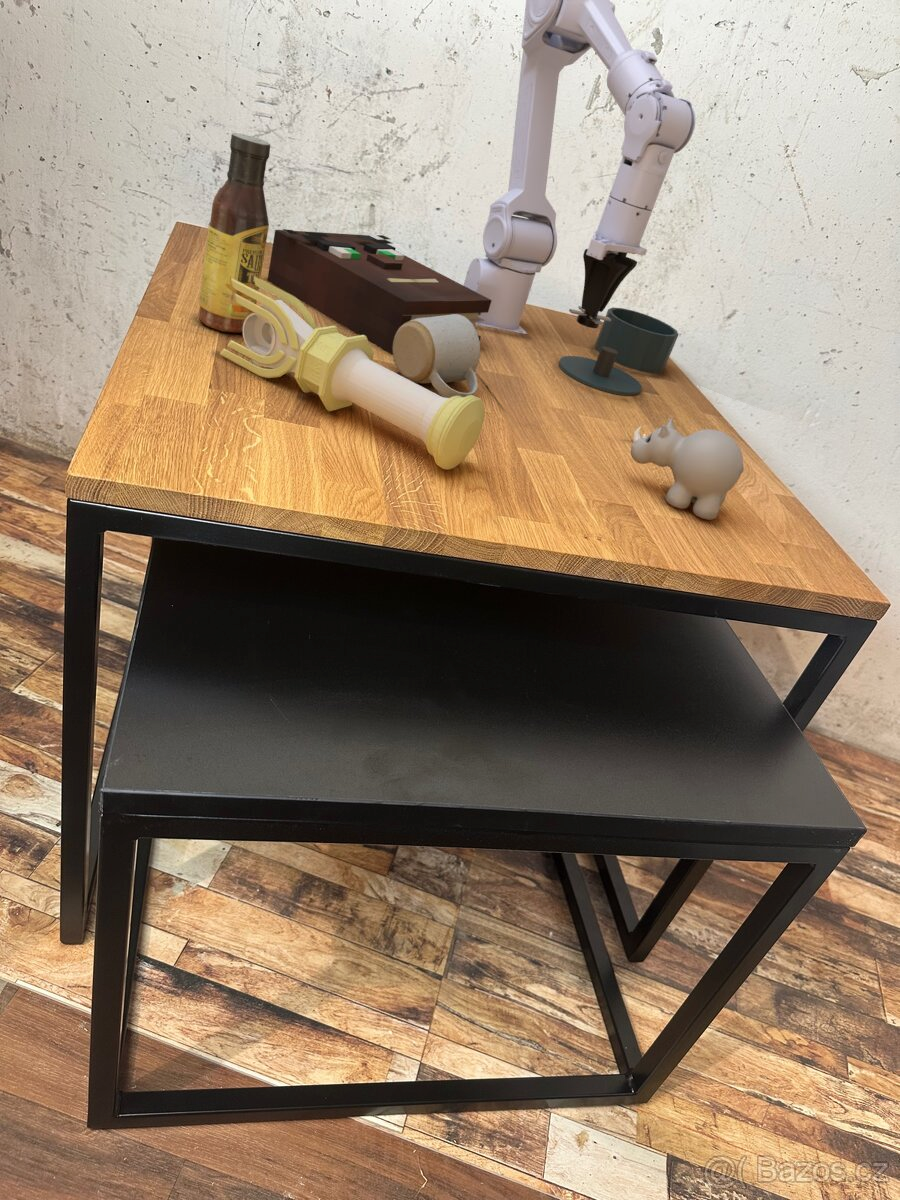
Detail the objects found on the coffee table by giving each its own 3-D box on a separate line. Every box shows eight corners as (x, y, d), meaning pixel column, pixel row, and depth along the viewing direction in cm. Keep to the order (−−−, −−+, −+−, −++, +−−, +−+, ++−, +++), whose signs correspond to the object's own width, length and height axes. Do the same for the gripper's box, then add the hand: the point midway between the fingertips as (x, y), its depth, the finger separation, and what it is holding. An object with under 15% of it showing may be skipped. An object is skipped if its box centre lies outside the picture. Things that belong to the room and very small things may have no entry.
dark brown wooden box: (414, 302, 102) (257, 216, 115) (399, 363, 106) (249, 273, 119) (512, 300, 116) (362, 224, 129) (495, 354, 120) (351, 275, 133)
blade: (575, 327, 113) (590, 285, 110) (559, 312, 117) (573, 271, 114) (615, 336, 115) (631, 295, 112) (597, 320, 120) (612, 280, 117)
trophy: (502, 392, 83) (267, 274, 92) (463, 406, 77) (216, 278, 86) (477, 467, 87) (254, 348, 96) (438, 486, 81) (205, 357, 91)
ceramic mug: (381, 367, 103) (397, 304, 98) (429, 364, 108) (446, 304, 104) (441, 408, 98) (461, 343, 93) (488, 403, 103) (509, 341, 99)
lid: (577, 392, 116) (589, 359, 113) (544, 357, 125) (555, 326, 123) (653, 405, 121) (666, 374, 118) (616, 371, 130) (628, 341, 127)
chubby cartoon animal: (627, 464, 99) (656, 394, 94) (725, 509, 96) (761, 439, 91) (608, 481, 93) (638, 408, 89) (712, 529, 90) (749, 456, 85)
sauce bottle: (239, 340, 97) (267, 149, 87) (187, 322, 98) (208, 129, 87) (261, 327, 103) (289, 146, 92) (211, 310, 103) (234, 127, 93)
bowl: (611, 369, 130) (628, 327, 126) (582, 342, 138) (597, 302, 135) (673, 381, 134) (691, 341, 131) (641, 353, 142) (657, 315, 139)
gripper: (642, 214, 101) (600, 327, 108) (675, 213, 113) (635, 315, 120) (589, 194, 103) (551, 306, 110) (626, 194, 115) (590, 296, 122)
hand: (591, 310), depth 115 cm, fingers closed on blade
